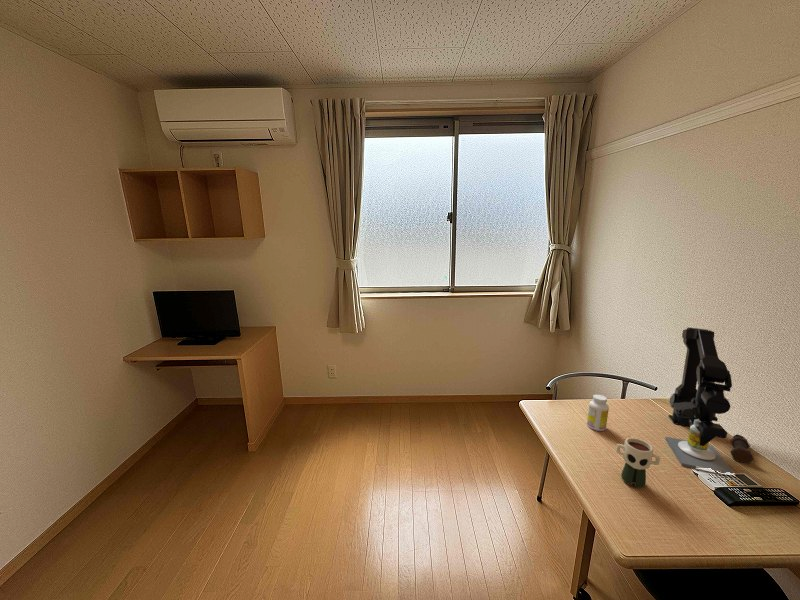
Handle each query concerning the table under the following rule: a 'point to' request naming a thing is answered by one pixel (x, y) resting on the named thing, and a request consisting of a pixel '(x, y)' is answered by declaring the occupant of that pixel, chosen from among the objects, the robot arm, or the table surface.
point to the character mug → (636, 460)
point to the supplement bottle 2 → (696, 438)
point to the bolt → (741, 450)
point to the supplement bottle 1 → (598, 413)
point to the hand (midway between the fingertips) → (698, 440)
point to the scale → (697, 456)
